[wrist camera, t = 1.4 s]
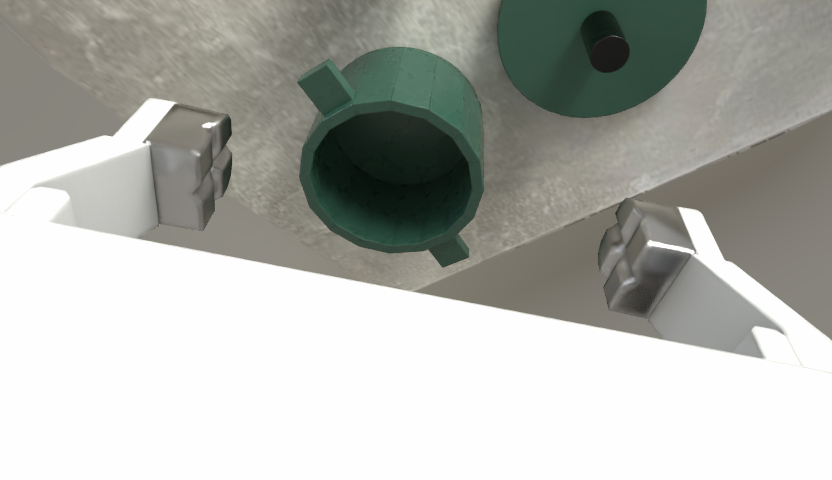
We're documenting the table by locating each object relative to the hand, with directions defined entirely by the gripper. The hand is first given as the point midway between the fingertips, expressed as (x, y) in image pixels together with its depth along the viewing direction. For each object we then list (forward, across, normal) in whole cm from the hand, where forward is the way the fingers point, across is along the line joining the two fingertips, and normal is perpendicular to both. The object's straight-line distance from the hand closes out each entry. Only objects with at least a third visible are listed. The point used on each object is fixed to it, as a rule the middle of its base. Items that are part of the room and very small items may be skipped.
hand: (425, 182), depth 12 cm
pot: (+32, +1, +17) cm, 36 cm away
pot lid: (+31, -11, +6) cm, 33 cm away
